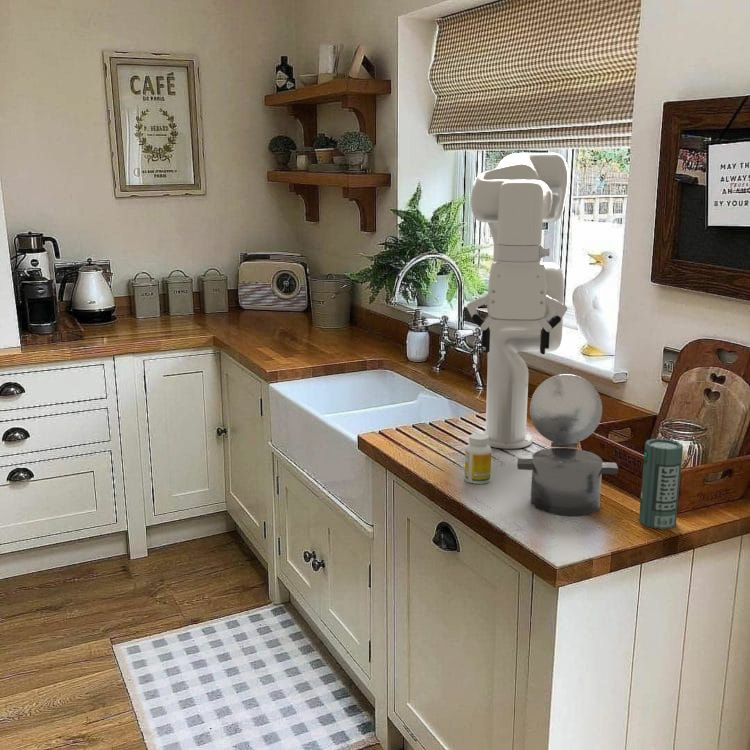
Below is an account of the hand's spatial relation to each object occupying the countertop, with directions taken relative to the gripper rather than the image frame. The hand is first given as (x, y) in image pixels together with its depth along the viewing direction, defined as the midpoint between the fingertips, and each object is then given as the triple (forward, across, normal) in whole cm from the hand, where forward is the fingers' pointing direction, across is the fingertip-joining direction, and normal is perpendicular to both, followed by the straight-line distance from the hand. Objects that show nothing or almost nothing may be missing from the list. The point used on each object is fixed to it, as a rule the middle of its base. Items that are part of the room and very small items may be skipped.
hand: (514, 351), depth 146 cm
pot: (+31, -11, -8) cm, 34 cm away
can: (+31, -27, -1) cm, 41 cm away
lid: (+15, -11, -16) cm, 24 cm away
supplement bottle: (+31, +6, -18) cm, 37 cm away
